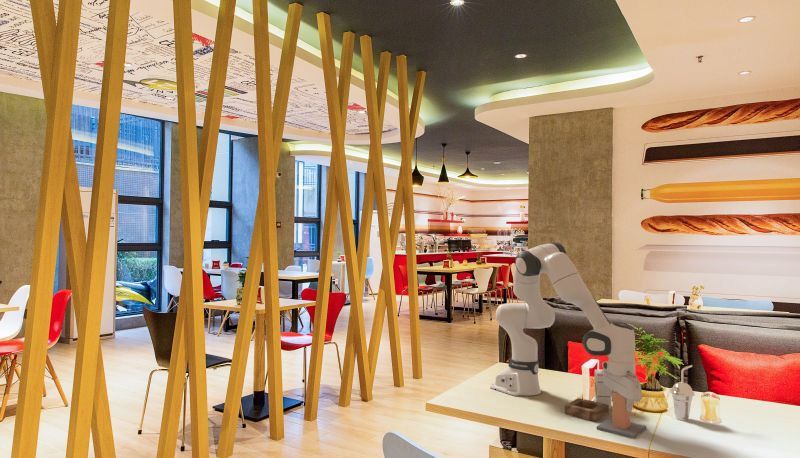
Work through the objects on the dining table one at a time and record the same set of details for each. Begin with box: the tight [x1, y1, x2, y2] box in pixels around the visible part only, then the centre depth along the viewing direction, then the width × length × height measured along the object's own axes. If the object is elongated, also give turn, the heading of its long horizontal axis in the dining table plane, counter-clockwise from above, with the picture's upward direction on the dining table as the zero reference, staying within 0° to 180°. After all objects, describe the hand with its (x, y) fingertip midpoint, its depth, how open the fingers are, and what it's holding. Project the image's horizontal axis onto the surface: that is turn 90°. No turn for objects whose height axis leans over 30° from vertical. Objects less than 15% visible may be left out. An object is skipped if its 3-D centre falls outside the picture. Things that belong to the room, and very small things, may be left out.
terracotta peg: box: [612, 392, 631, 429], centre depth 199 cm, size 4×4×12 cm
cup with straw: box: [669, 364, 696, 422], centre depth 210 cm, size 8×9×20 cm
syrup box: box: [594, 368, 612, 410], centre depth 223 cm, size 6×6×14 cm
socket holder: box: [564, 397, 610, 423], centre depth 215 cm, size 12×12×4 cm
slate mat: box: [596, 417, 647, 440], centre depth 199 cm, size 13×13×1 cm
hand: (621, 406), depth 199 cm, fingers open, 8 cm apart
